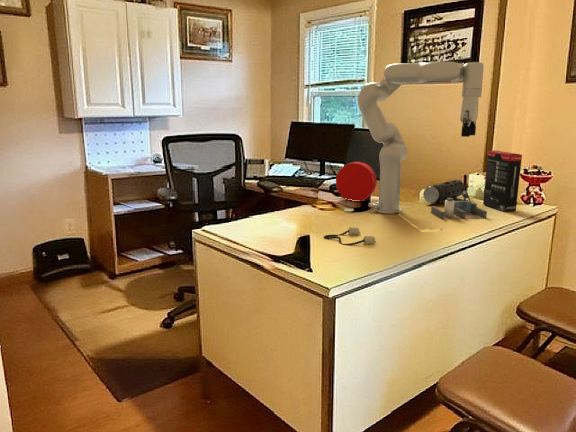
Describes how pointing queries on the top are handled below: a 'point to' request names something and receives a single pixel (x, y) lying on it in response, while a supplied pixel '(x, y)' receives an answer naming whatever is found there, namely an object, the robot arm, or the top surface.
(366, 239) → the cable
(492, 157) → the graphics card box
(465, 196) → the portable electronic device stand
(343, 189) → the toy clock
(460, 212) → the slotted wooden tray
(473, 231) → the top surface
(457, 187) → the muzzle brake
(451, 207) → the cream plastic cylinder
